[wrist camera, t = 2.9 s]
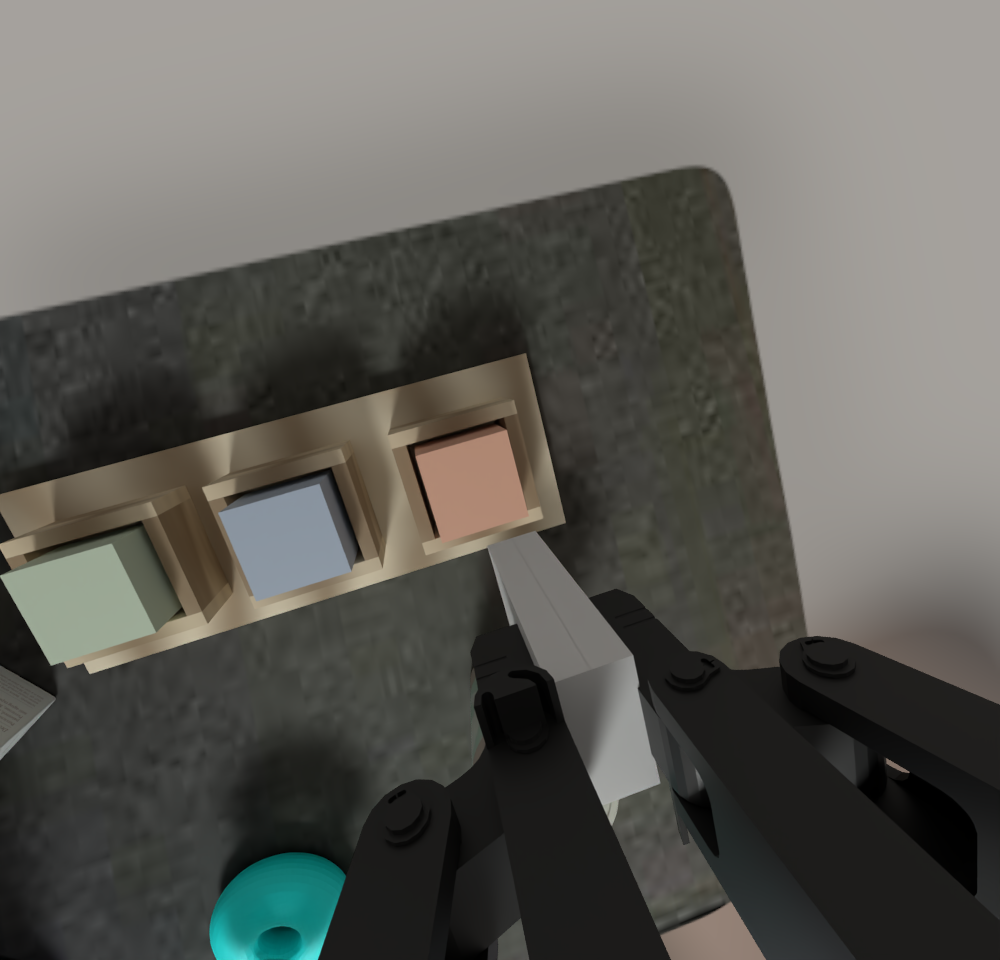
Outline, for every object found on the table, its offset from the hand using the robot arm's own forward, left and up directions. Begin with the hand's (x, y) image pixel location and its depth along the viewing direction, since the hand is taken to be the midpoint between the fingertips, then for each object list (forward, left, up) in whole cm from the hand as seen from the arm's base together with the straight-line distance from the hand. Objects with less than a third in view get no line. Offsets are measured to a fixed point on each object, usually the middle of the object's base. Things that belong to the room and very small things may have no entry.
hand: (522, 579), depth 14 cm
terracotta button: (0, 0, -16) cm, 16 cm away
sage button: (-20, 0, -16) cm, 25 cm away
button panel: (-10, 0, -19) cm, 21 cm away
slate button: (-10, 0, -16) cm, 19 cm away
